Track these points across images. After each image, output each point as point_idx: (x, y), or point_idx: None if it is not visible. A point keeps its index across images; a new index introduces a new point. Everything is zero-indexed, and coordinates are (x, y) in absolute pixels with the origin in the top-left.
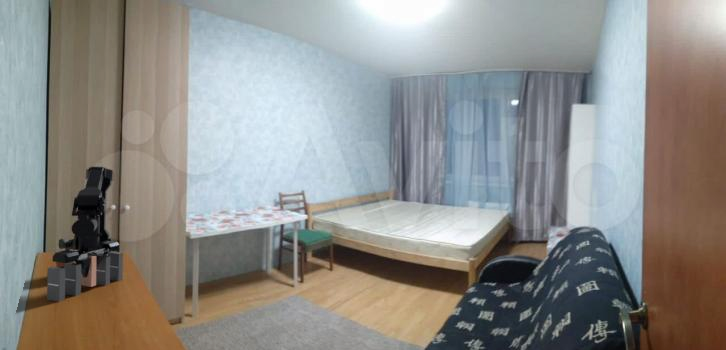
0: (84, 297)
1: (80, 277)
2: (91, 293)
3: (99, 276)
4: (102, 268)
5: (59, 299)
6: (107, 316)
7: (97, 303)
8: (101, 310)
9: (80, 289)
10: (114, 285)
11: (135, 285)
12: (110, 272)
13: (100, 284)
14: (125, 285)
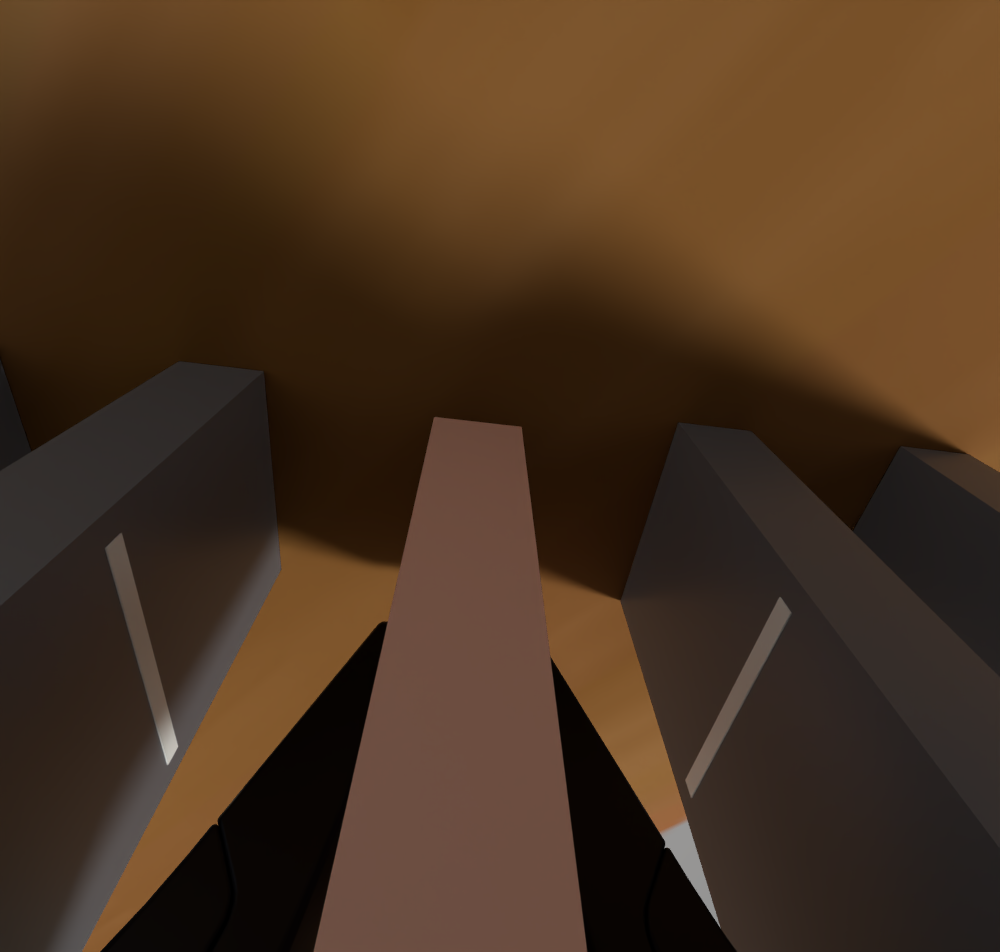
0: (233, 663)
1: (143, 807)
2: (351, 643)
3: (690, 600)
4: (732, 807)
5: None
6: (95, 946)
7: (196, 817)
8: (128, 892)
9: (249, 617)
10: (641, 671)
11: (665, 803)
12: (964, 574)
13: (644, 533)
14: (655, 747)
